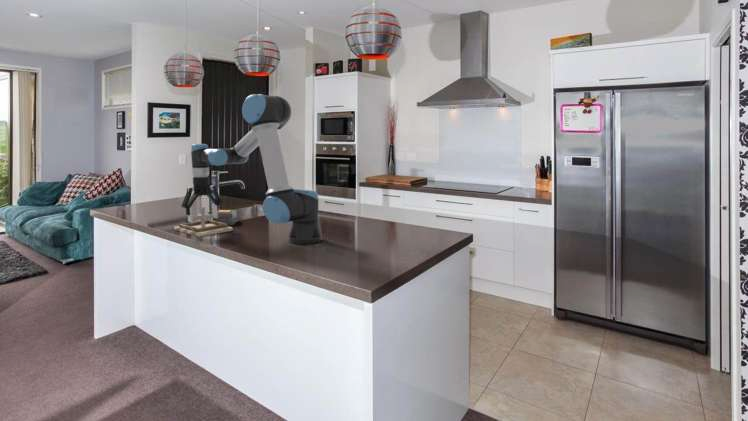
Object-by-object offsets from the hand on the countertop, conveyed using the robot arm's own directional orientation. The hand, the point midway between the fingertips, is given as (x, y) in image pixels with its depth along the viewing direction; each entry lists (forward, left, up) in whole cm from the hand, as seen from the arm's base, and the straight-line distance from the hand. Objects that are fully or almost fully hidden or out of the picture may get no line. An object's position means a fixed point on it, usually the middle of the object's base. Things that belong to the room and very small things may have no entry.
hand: (203, 219), depth 217 cm
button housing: (+18, -6, -5) cm, 20 cm away
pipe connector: (0, 0, -4) cm, 4 cm away
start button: (+18, -6, -2) cm, 19 cm away
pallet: (0, 0, -5) cm, 5 cm away
